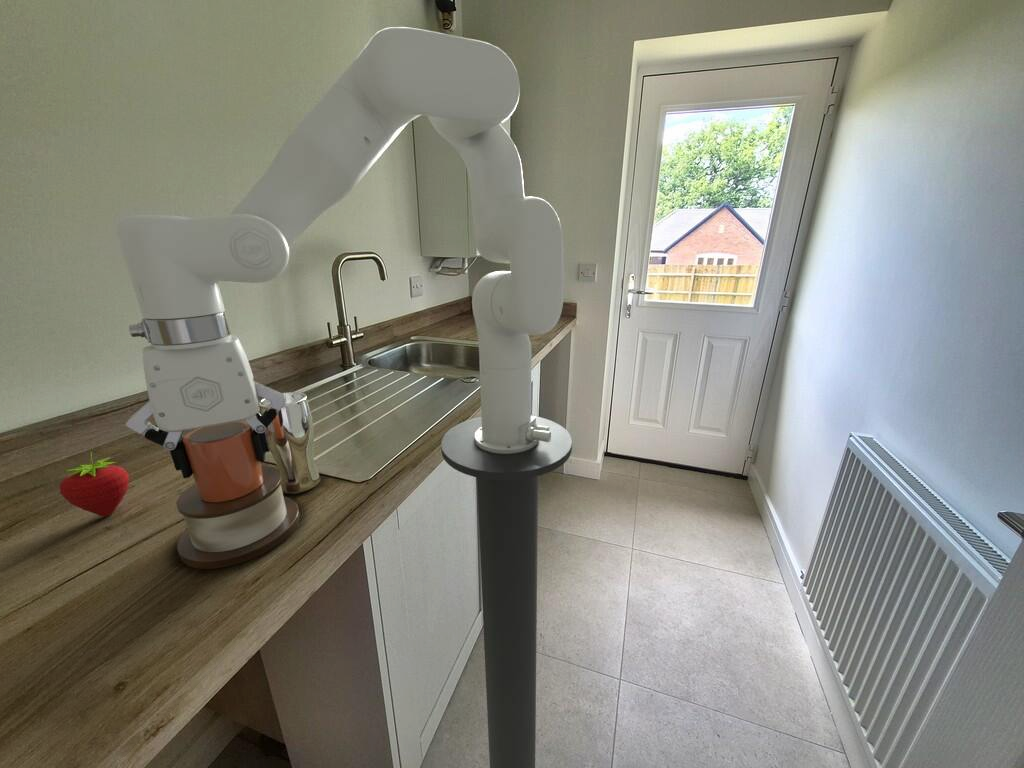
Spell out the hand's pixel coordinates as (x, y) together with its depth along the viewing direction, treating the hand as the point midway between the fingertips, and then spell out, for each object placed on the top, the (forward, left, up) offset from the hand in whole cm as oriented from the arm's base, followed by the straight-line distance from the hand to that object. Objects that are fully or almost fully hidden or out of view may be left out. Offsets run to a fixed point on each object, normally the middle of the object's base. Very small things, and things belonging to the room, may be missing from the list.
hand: (227, 464), depth 53 cm
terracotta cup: (0, 0, -3) cm, 3 cm away
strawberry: (+22, +6, -11) cm, 25 cm away
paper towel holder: (0, 0, -10) cm, 10 cm away
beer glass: (+3, -11, -11) cm, 16 cm away
